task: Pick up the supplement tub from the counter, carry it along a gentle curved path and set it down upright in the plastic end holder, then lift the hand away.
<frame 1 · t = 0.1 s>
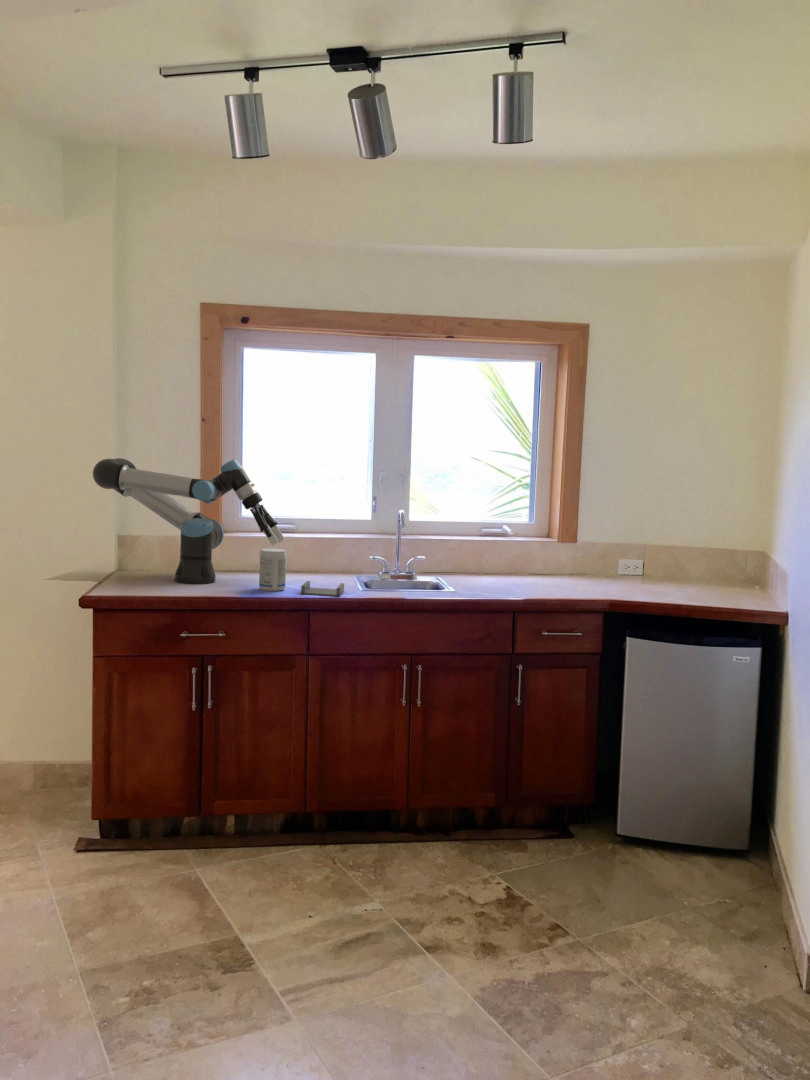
hand: (278, 542, 352), 15 cm above the countertop, tool tilted 35°, fingers open, 13 cm apart
end holder: (322, 592, 331), on the countertop
supplement tub: (271, 589, 332), on the countertop
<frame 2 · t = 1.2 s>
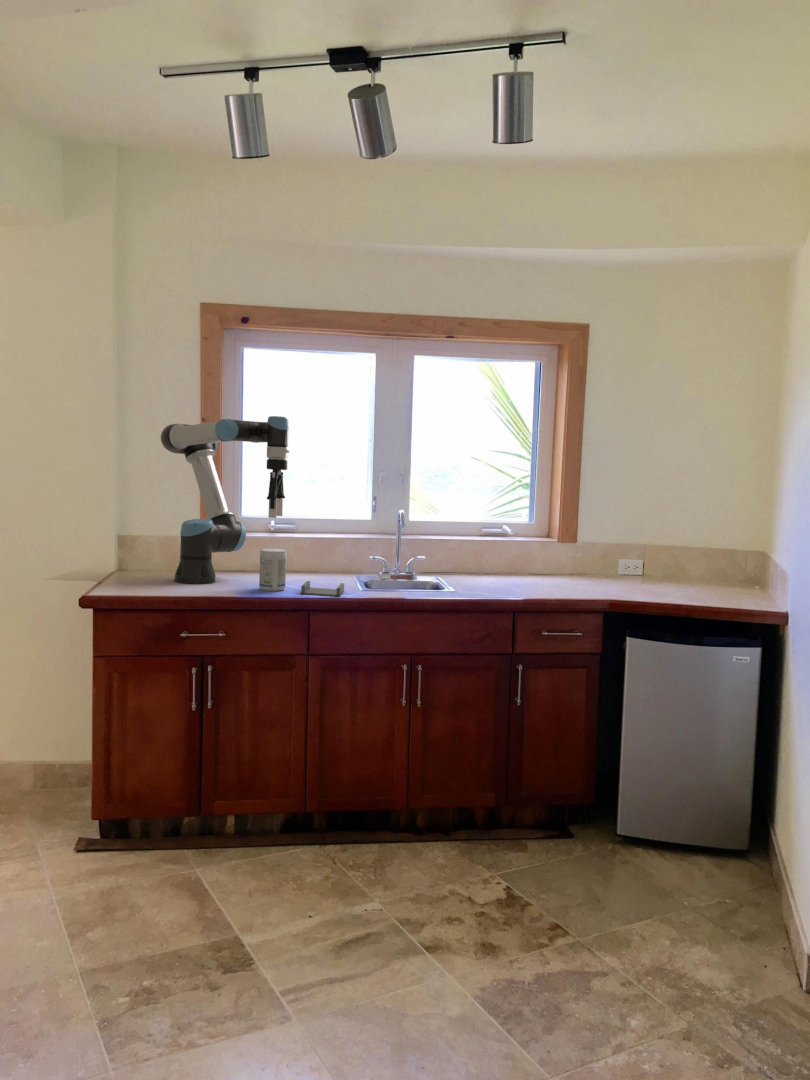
hand: (275, 516, 331), 27 cm above the countertop, tool pointing down, fingers open, 13 cm apart
nothing on the countertop moved.
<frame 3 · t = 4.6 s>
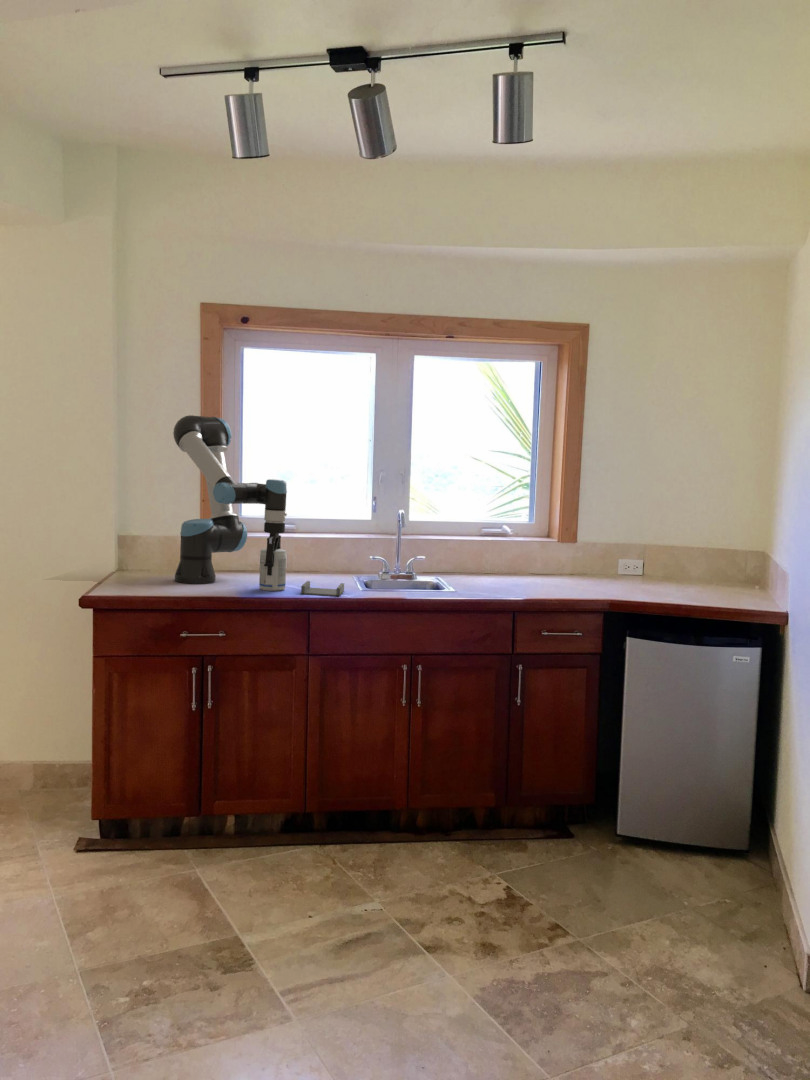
hand: (272, 582, 332), 3 cm above the countertop, tool pointing down, fingers closed on supplement tub, 9 cm apart
supplement tub: (271, 589, 332), on the countertop, touching gripper
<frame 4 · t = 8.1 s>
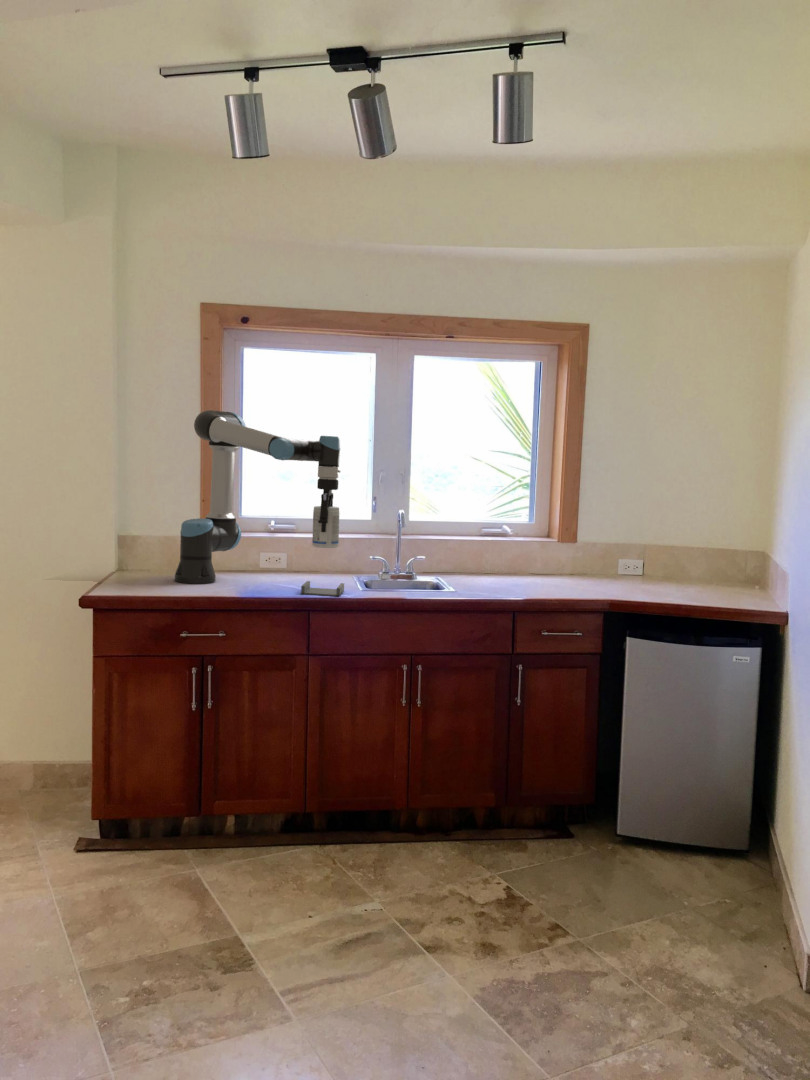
hand: (325, 539, 329), 20 cm above the countertop, tool pointing down, fingers closed on supplement tub, 9 cm apart
supplement tub: (325, 547, 329), point 17 cm above the countertop, touching gripper
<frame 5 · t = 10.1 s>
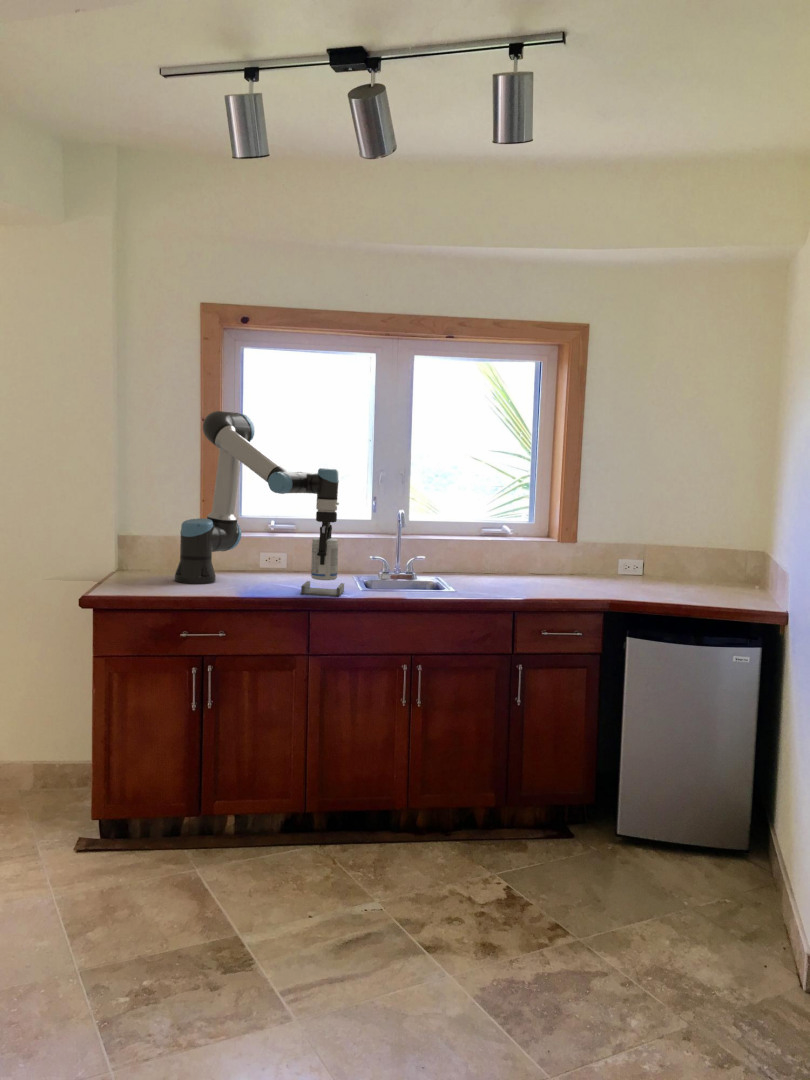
hand: (324, 571, 330), 8 cm above the countertop, tool pointing down, fingers closed on supplement tub, 9 cm apart
supplement tub: (323, 579, 330), point 5 cm above the countertop, touching gripper
when the fingers open (5 cm above the countertop, at t = 11.8 s): supplement tub drops 1 cm, resting on end holder.
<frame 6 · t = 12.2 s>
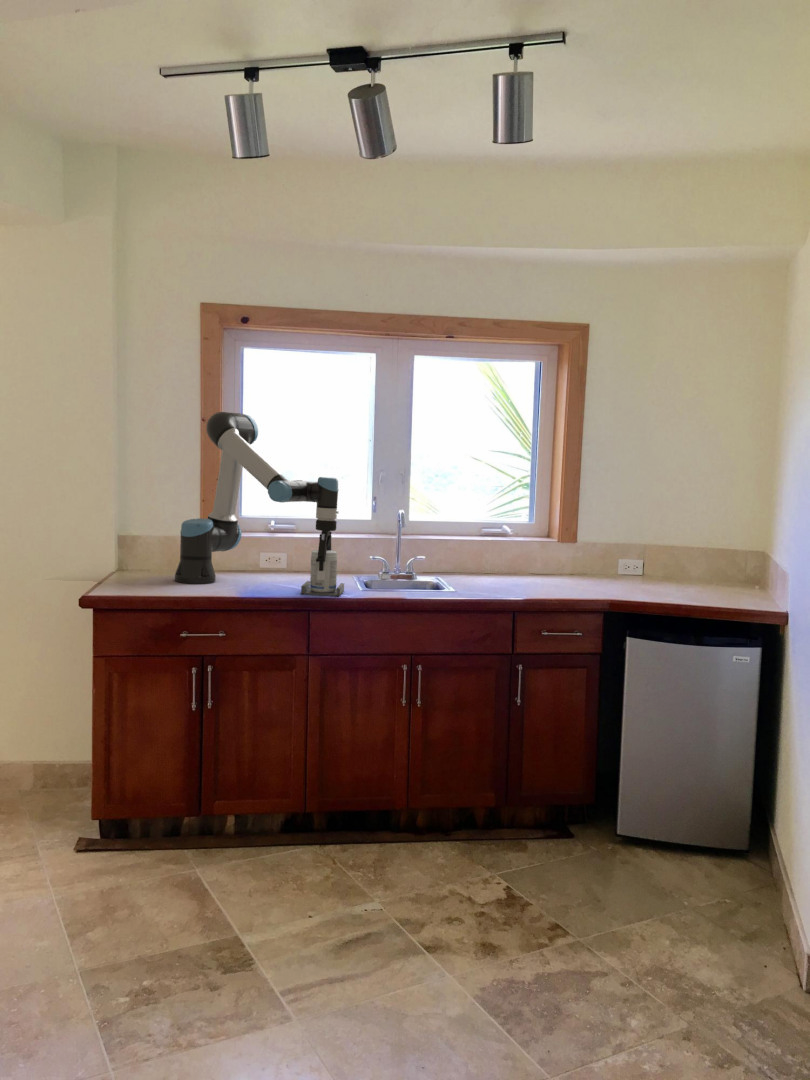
hand: (323, 577, 330), 6 cm above the countertop, tool pointing down, fingers open, 13 cm apart
supplement tub: (322, 591, 330), resting on end holder
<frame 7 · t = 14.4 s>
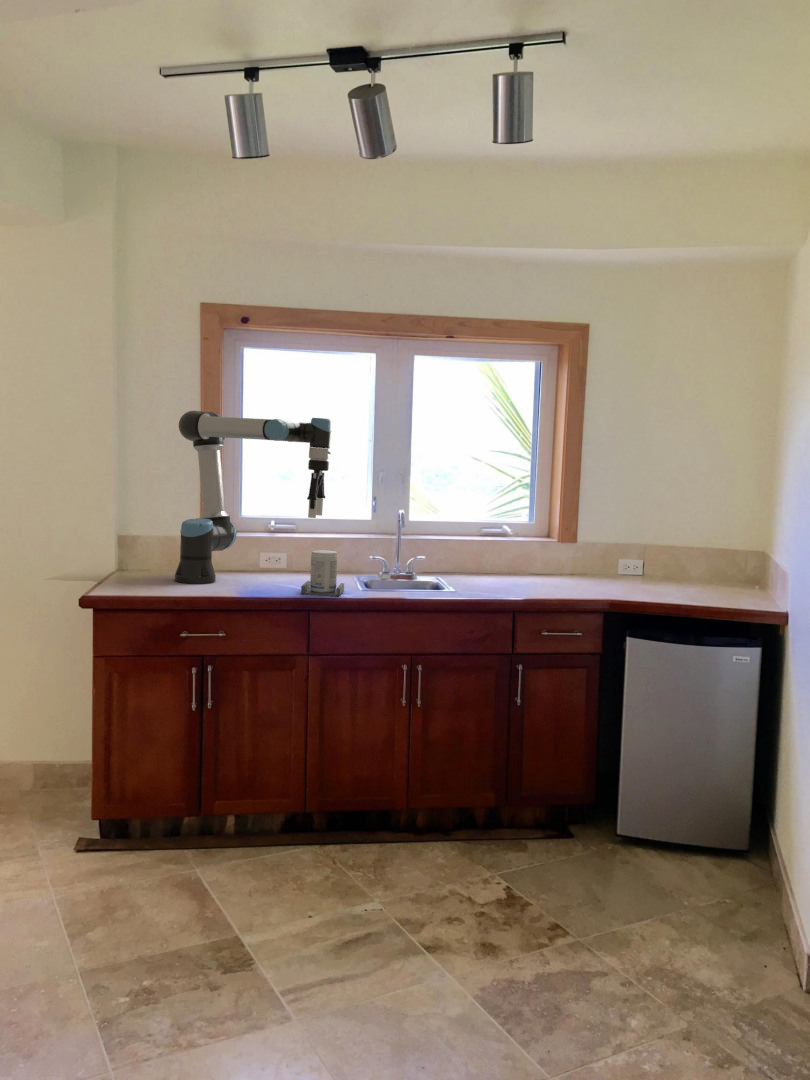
hand: (315, 516, 337), 27 cm above the countertop, tool pointing down, fingers open, 13 cm apart
nothing on the countertop moved.
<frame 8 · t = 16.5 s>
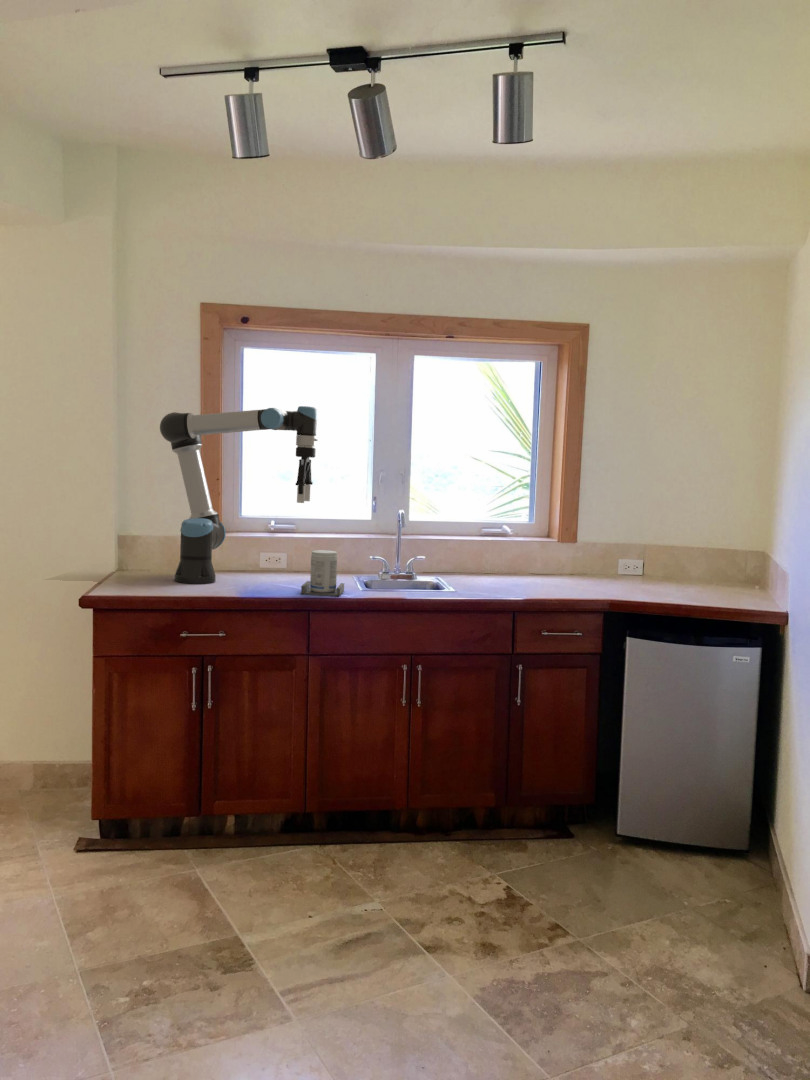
hand: (303, 502, 349), 32 cm above the countertop, tool pointing down, fingers open, 13 cm apart
nothing on the countertop moved.
at the end: supplement tub 0.2 cm off-centre on the end holder, point 0.4 cm above the end holder's base; supplement tub tilted 0°; the gripper is holding nothing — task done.
